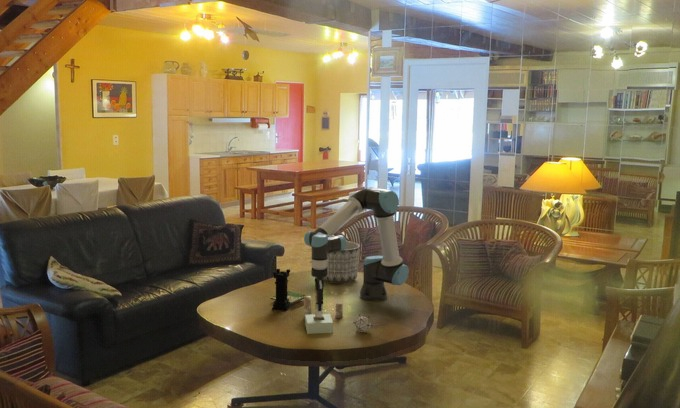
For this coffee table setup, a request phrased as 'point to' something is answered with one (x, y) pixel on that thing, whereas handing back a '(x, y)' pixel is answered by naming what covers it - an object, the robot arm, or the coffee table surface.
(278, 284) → the chess piece
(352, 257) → the planter
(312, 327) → the collar block
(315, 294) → the pin long
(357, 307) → the coffee table surface
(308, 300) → the pin medium
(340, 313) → the pin short
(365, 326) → the spiky lattice ball
